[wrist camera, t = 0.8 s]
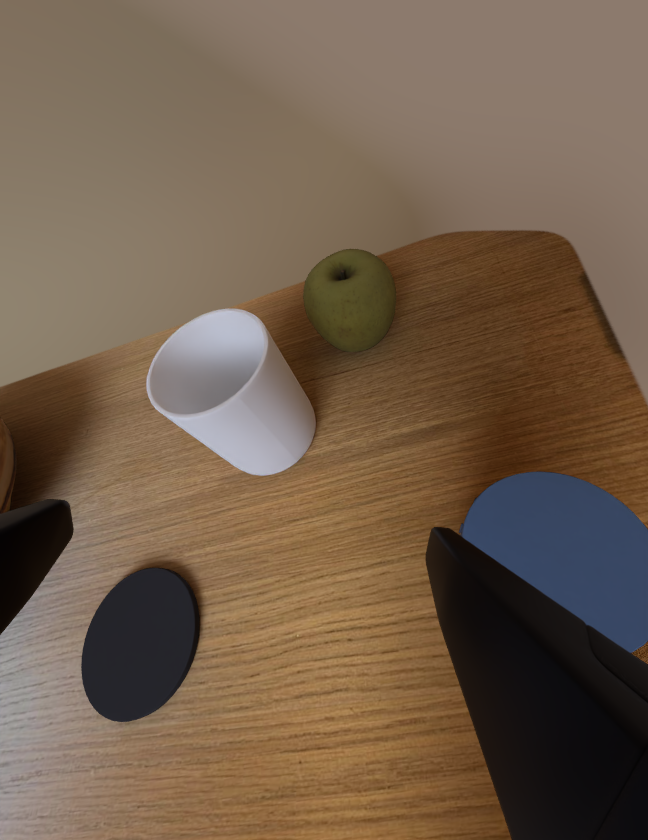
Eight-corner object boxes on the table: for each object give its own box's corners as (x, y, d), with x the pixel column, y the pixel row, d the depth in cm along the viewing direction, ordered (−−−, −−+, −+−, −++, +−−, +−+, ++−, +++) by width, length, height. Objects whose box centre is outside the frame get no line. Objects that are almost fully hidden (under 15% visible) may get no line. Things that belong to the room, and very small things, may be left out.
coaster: (217, 666, 22) (212, 667, 22) (98, 752, 22) (90, 755, 21) (179, 544, 27) (174, 543, 27) (81, 613, 27) (74, 612, 26)
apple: (381, 291, 34) (369, 222, 28) (415, 346, 30) (410, 279, 24) (310, 322, 35) (284, 262, 29) (335, 381, 30) (310, 324, 24)
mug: (228, 375, 34) (157, 296, 26) (305, 350, 33) (259, 257, 24) (229, 489, 28) (137, 435, 19) (326, 463, 27) (273, 393, 18)
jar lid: (681, 588, 13) (722, 585, 11) (544, 694, 13) (564, 708, 11) (536, 460, 17) (550, 441, 15) (427, 540, 17) (426, 531, 15)
